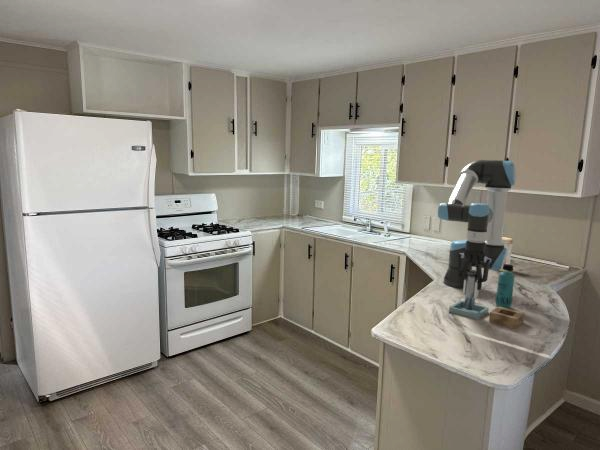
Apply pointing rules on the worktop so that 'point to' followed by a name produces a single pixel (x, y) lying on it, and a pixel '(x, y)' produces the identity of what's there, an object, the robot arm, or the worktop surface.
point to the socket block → (506, 317)
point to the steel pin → (470, 290)
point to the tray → (474, 314)
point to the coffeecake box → (507, 245)
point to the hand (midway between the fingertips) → (470, 295)
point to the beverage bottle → (505, 287)
